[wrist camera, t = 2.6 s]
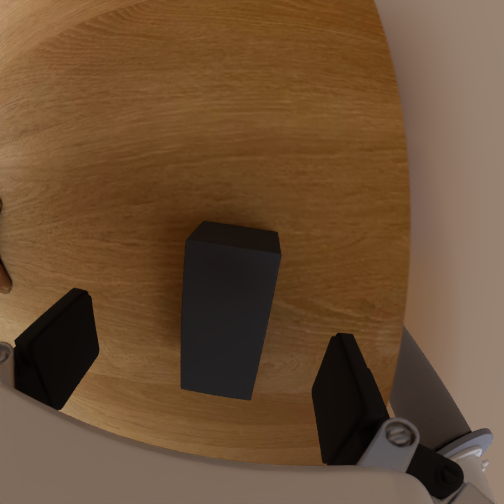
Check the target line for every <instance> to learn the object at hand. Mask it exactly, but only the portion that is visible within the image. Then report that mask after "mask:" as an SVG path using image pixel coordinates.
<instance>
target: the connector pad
mask: <svg viewBox="0 0 504 504" xmlns="http://www.w3.org/2000/svg"><path fill="white" fill-rule="evenodd" d="M280 260H281V250H280V243H279V237H278V232H273V231H267V230H260V229H254V228H247V227H241V226H234V225H227V224H221V223H214V222H207V221H203V222H202V223H201V224H200V225H199V226H198V228H197V229H196V230H195V231H194V232H193V233H192V234H191V235H190V236H189V237H188V238H187V239H186V245H185V259H184V274H183V293H182V318H181V389H185V390H190V391H195V392H200V393H205V394H211V395H217V396H223V397H229V398H236V399H243V400H251V397H252V392H253V388H254V384H255V379H256V375H257V370H258V366H259V361H260V357H261V352H262V348H263V343H264V339H265V334H266V329H267V324H268V320H269V315H270V310H271V305H272V300H273V295H274V290H275V285H276V280H277V275H278V270H279V265H280Z"/></svg>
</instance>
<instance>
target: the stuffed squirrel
mask: <svg viewBox="0 0 504 504" xmlns="http://www.w3.org/2000/svg"><path fill="white" fill-rule="evenodd" d="M1 206H2V204H1V201H0V211H1ZM10 290H11V282H10V280H9V278H8V276H7V274H6V272H5V271H4V269H3V268H2V266H1V264H0V292H1V293H5V294H8V293H9V292H10Z"/></svg>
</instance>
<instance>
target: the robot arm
mask: <svg viewBox="0 0 504 504" xmlns="http://www.w3.org/2000/svg"><path fill="white" fill-rule="evenodd" d="M14 342H15V345H16V346H15V347H14V348H13V347H12V346H11V345H10V344H9V343H7V342H0V504H497V503H496V500H495V498H494V495H493V493H492V491H491V488H490V486H489V484H488V481H487V479H486V477H485V475H484V473H483V472H484V471H485V468H486V467H485V466H486V465H488V463H489V460H487V459H486V460H484V461H482V462H481V460H480V458H479V457H480V455H481V453H482V449H481V447H480V446H477V445H476V446H472V447H469V448H467V449H465V450H463V451H461V452H459V453H457V454H455V455H453V456H452V457H450V458H446V457H444V456H442V455H440V454H438V453H436V452H434V451H433V450H431V449H429V448H427V447H425V446H423V445H421V444H419V438H420V436H419V432H418V430H417V428H416V427H415V426H414V425H413V424H412V423H411V422H410V421H408V420H406V419H403V418H396V417H395V418H390V417H389V414H388V412H387V409H386V406H385V404H384V402H383V399H382V397H381V394H380V392H379V389H378V387H377V384H376V382H375V380H374V377H373V375H372V373H371V371H370V369H368V368H367V365H366V363H365V361H364V358H363V356H362V354H361V352H360V349H359V347H358V345H357V342H356V340H355V338H354V336H353V334H346V333H337V334H336V336H332V337H331V339H330V342H329V344H328V347H327V350H326V353H325V356H324V358H323V361H322V364H321V366H320V369H319V371H318V374H317V377H316V379H315V382H314V384H313V387H312V399H313V405H314V411H315V417H316V423H317V430H318V436H319V443H320V449H321V456H322V462H323V463H324V464H326V463H327V465H325V466H299V465H275V464H260V463H249V462H239V461H231V460H223V459H217V458H210V457H205V456H199V455H194V454H189V453H184V452H179V451H174V450H170V449H166V448H162V447H158V446H154V445H150V444H147V443H143V442H140V441H136V440H133V439H130V438H127V437H123V436H120V435H117V434H115V433H112V432H109V431H106V430H103V429H100V428H98V427H95V426H93V425H90V424H87V423H85V422H83V421H80V420H78V419H75V418H73V417H71V416H68V415H66V414H64V413H62V412H60V411H58V410H61V409H62V408H63V406H64V405H65V403H66V402H67V400H68V399H69V397H70V396H71V394H72V393H73V391H74V390H75V388H76V387H77V385H78V384H79V382H80V381H81V379H82V378H83V377H84V375H85V374H86V372H87V371H88V369H89V368H90V366H91V365H92V364H93V362H94V361H95V359H96V358H97V356H98V354H99V343H98V338H97V332H96V326H95V320H94V313H93V306H92V298H91V296H90V295H89V294H88V292H87V291H86V290H82V289H78V288H73V289H72V290H70V291H69V292H68V293H67V294H66V295H64V296H63V297H62V298H61V299H60V300H59V301H57V302H56V303H55V304H54V305H53V306H52V307H50V308H49V309H48V310H47V311H46V312H45V313H44V314H43V315H41V316H40V317H39V318H38V319H37V320H36V321H35V322H34V323H33V324H31V325H30V326H29V327H28V328H27V329H26V330H25V331H24V332H23V333H22V334H21V335H20V336H19V337H17V338H16V339H15V340H14Z"/></svg>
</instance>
